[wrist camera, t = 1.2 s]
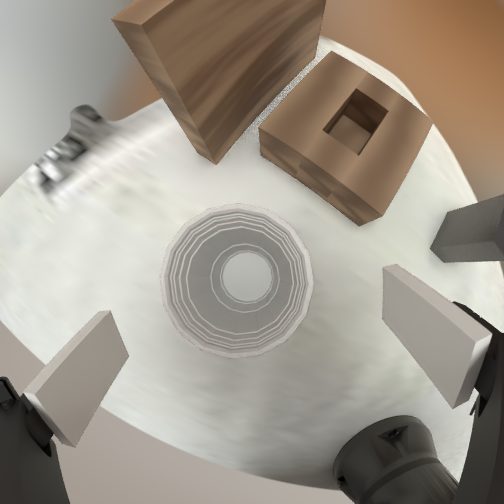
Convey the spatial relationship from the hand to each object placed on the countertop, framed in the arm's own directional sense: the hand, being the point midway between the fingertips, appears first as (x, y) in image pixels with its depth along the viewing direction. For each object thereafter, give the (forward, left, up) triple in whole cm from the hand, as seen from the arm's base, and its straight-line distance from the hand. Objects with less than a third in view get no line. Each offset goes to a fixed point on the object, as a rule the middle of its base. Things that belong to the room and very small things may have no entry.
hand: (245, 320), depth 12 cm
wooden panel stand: (+5, -19, -18) cm, 27 cm away
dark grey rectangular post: (-16, -19, -18) cm, 31 cm away
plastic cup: (+2, 0, -18) cm, 18 cm away
